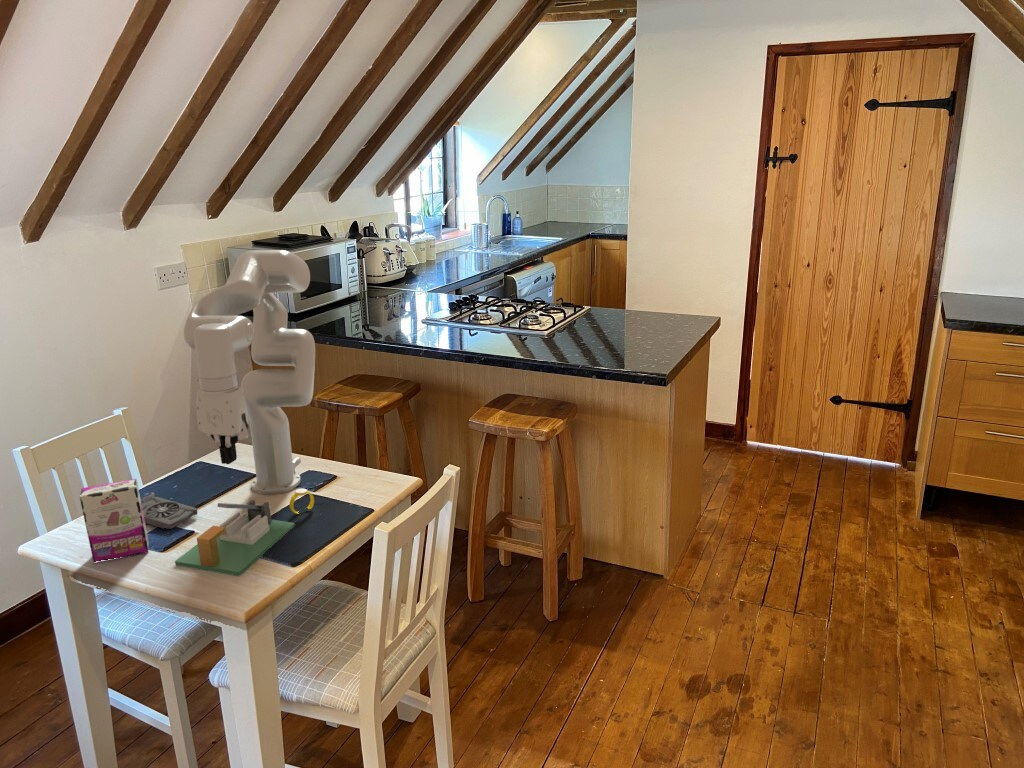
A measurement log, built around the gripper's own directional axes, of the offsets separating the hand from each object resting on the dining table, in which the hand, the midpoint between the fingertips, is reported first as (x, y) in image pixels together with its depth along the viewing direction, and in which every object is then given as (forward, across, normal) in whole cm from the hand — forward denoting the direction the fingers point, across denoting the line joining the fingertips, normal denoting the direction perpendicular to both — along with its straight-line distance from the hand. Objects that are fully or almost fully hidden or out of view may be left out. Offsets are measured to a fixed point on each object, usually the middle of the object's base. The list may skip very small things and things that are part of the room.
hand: (229, 461), depth 170 cm
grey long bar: (+13, 0, +2) cm, 13 cm away
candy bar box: (+21, -23, -11) cm, 33 cm away
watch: (+20, +6, +17) cm, 28 cm away
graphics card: (+21, -26, +5) cm, 34 cm away
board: (+20, 0, -1) cm, 20 cm away
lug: (+19, 0, -9) cm, 21 cm away
